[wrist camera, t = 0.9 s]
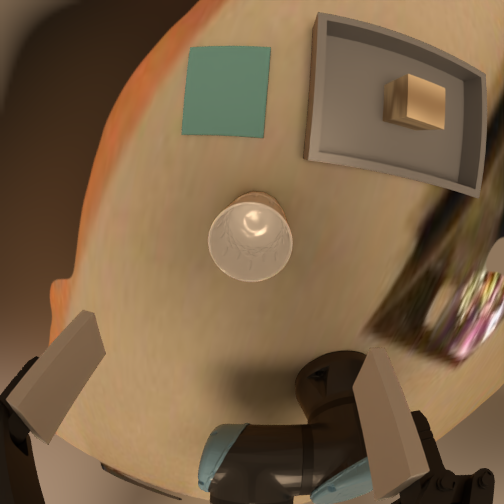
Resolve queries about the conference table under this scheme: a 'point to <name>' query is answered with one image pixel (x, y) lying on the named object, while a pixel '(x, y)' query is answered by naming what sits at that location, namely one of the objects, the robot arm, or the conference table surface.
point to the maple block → (414, 103)
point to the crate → (372, 100)
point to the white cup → (251, 238)
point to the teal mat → (226, 91)
